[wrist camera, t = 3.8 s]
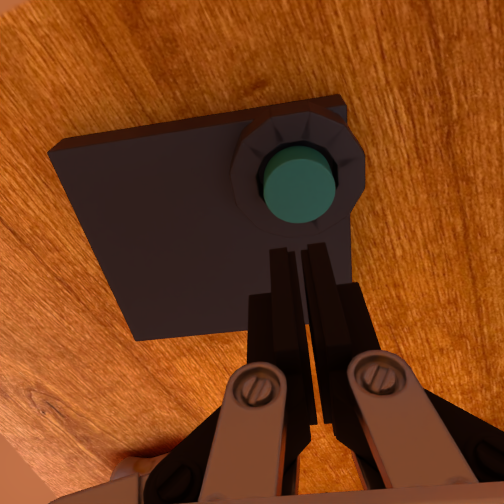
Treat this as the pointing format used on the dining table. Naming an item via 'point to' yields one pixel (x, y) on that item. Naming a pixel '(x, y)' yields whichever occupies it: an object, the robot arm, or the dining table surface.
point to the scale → (204, 210)
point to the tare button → (298, 184)
